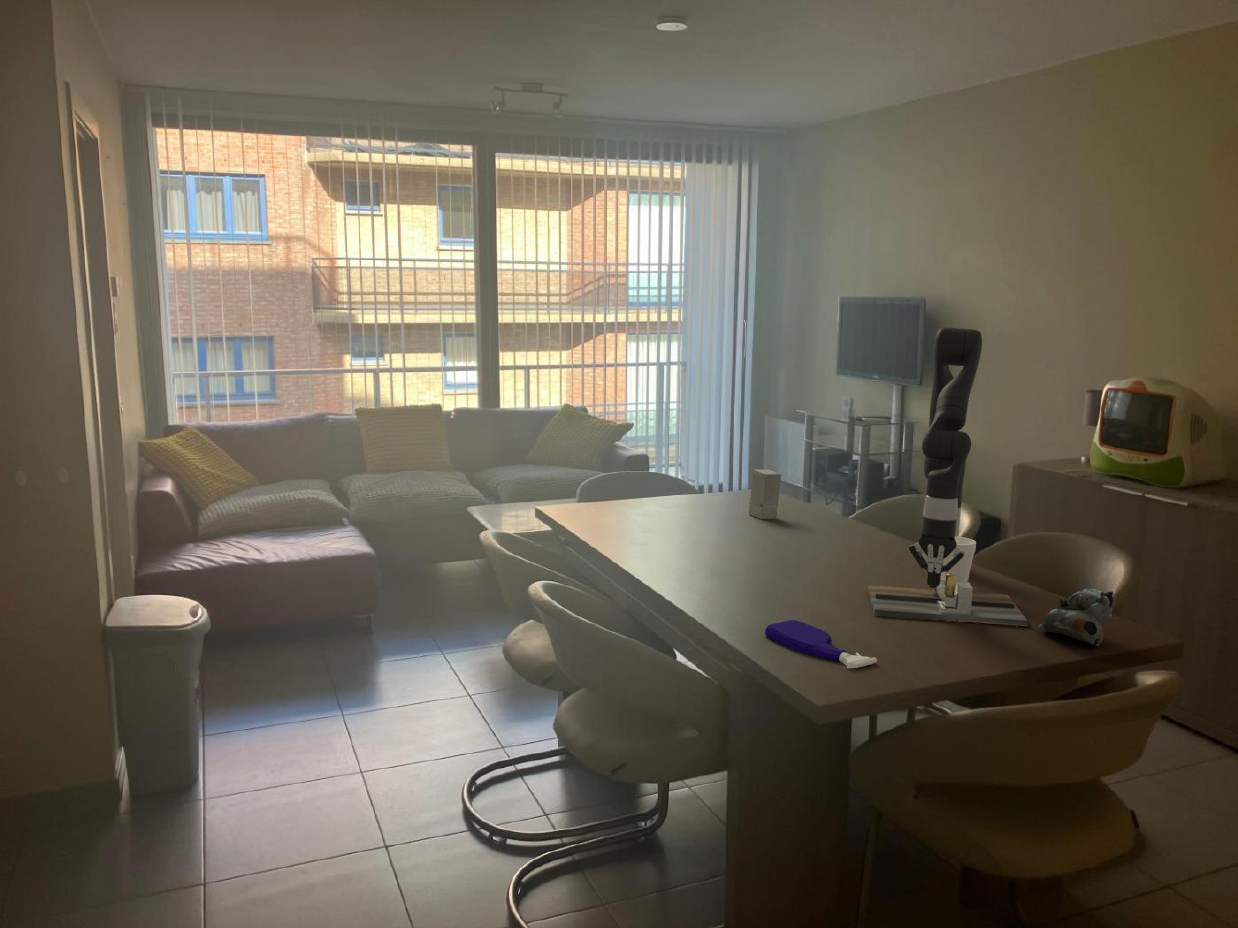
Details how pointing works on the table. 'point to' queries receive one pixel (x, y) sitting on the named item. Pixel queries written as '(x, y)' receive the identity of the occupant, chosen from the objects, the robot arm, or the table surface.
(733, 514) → the table surface
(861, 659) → the spray bottle
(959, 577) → the foam cup
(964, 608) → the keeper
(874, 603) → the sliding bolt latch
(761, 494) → the skincare box
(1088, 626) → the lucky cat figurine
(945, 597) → the swing bar
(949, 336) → the robot arm
